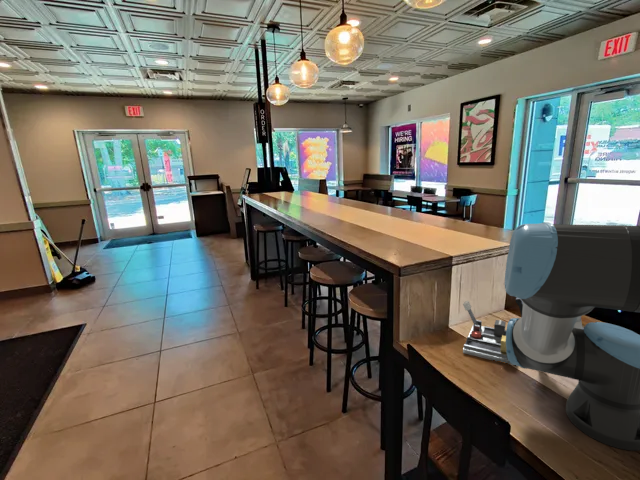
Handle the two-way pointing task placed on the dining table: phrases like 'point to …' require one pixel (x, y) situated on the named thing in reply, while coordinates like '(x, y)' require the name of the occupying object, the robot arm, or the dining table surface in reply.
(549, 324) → the robot arm
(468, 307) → the lever
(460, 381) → the dining table surface
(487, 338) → the panel
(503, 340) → the slider brass
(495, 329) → the slider black
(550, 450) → the dining table surface
